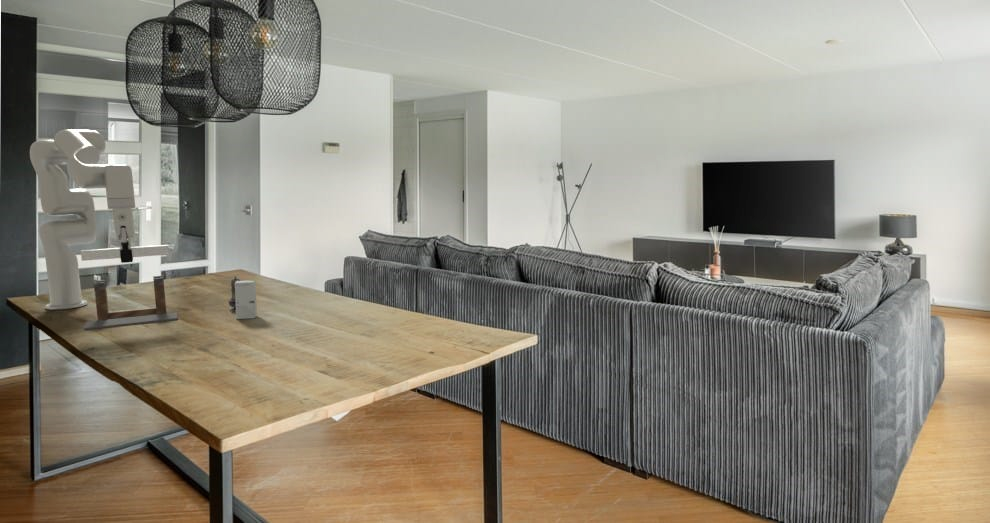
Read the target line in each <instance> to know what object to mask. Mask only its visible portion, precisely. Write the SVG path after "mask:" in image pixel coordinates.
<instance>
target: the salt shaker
mask: <svg viewBox="0 0 990 523" xmlns="http://www.w3.org/2000/svg"><path fill="white" fill-rule="evenodd" d="M230 281H231V284H230V286H231V288H230V291H231V298H230V299H228V300H227V302H228V304H229V306H230V307H231V308H230V309H229V310H228V311H229V312H233V313H236V303H235V282H236V281H241V280H240V279H239V278H237V276H236V275H234V278H233V279H232V280H230Z"/></svg>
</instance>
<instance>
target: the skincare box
mask: <svg viewBox="0 0 990 523" xmlns="http://www.w3.org/2000/svg"><path fill="white" fill-rule="evenodd" d="M235 303H236V312H235V318H236V320H241V319H242V320H243V319H255V318H256V317H257V315H258V314H257V312H258V311H257V286H256V280H240V281H236V282H235Z"/></svg>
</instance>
